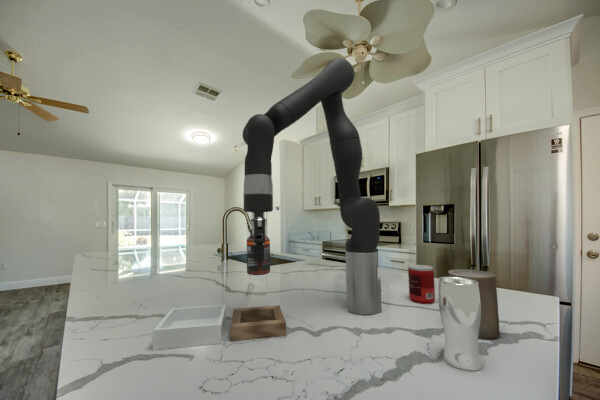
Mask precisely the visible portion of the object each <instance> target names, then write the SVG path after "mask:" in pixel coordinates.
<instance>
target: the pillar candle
mask: <svg viewBox="0 0 600 400" xmlns="http://www.w3.org/2000/svg"><path fill="white" fill-rule="evenodd" d="M448 277H460V278H467V279H472V280H475V281H477V282H478V286H479V292H480V299H481V322H480V329H479V335H478V339H481V340H483V339H484V340H492V339H499V338H500V337H501V333H500V318H499V303H498V291H497V279H496V274H494V273H493V272H490V271H485V270H479V269H478V270H477V269H473V267H470V269H463V268H462V269H457V268H456V269H451V270H448Z"/></svg>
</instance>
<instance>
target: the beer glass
mask: <svg viewBox="0 0 600 400" xmlns="http://www.w3.org/2000/svg"><path fill="white" fill-rule="evenodd" d="M437 290H438V292H437V294H438V295H437V297H438V299H437V301H438V310H439V316H440V319H441V324H442V328H443V333H444V348H443V359H444V362H446V363H447V364H448V365H449V366H450V365H451V366H452V367H454V368H456V369H458V370H459V369H460V370H462V371H463V370H464V371H467V372H469V371H470V372H475V371H479V370H481V369H482V360H481V356H480V352H479V345H478V344H479V338H478V335H479V329H480V322H481V299H480V292H479V286H478V282H477V281H475V280H472V279H467V278H460V277H449V276H441V277H438V288H437Z"/></svg>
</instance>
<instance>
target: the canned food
mask: <svg viewBox="0 0 600 400" xmlns="http://www.w3.org/2000/svg"><path fill="white" fill-rule="evenodd" d="M407 269H408V270H407V271H408V273H407V275H408V290H409V291H408V294H409V296H408V297H409V300H410V301H411V302H412V303H416V304H421V305H432V304H434V303H435V301H436V294H435V291H436V290H435V270H434V267H433V266H431V265H427V264H426V265H425V264H424V265H423V264H410V265H408V267H407Z"/></svg>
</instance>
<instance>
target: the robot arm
mask: <svg viewBox="0 0 600 400" xmlns="http://www.w3.org/2000/svg"><path fill="white" fill-rule="evenodd" d="M354 79H355V69H354V67H353V65H352V64H351V62H349V60H347V59H345V58H341V57H340V58H339V57H338V58H335V59H333V60H331V61H329V63H327V65H326V66H325V67H324V68H323V69H322V70H321V71H320V73H318V74H317V75H315V76H314V77H313V78H311V80H310V81H308V82H307V83H305V84H304V85H302V86H301V87H299V88H298V89H296V90H294V91H293V92H291V93H290V94H288V95H286V96H285V97H283V98H282V99H280V100H279V101H277V102H276V103H274V104H273V105H272V106H271V107H269V109H268V110H267V111H266V112H265V113H263V114H262V113H258V114H255V115H253V116H251V117H250V118H249V119H248V121H247V122H246V124H245V126H244V127H243V130H242V140H243V142H244V143H245V144H246V145H247V152H246V155H245V157H244V176H243V177H244V179H243V212H245V213H252V214H253V218H251V219H250V227H251V229H252V237H254V246H255V261H263V260H264V244H265V236H267V223H268V222H267V218H265V217H264V216H265V215H264V213H271V212H273V210H274V197H273V196H274V195H273V194H274V187H273V177H272V176H273V175H272V165H273V164H272V156H273V150H274V144H275V137H276V136H277V135H279V133H280V132H282V131H284V130H286V129H287V128H288V127H291V126H292V125H293V124H295V123H296V122H297V121H299V120H300V119H301V118H303V117H304V116H305V115H307V114H308V113H309V112H310V111H311V110H312V109H313V108H315V107H316V106H317V105H318V104H319V103H321V106H322V109H323V113H324V117H325V123H326V128H327V133H328V138H329V139H328V140H329V145H330V151H331V155H332V156H331V157H332V160H333V166H334V172H335V177H336V180H337V181H336V182H337V188H338V200H339V213H340V217H341V220H342V222H343V223H344V224H345V225H346V226H347V227H349V228H351V235H350V238H349V239H347V241H346V242H345V278H346V279H345V282H346V283H345V286H346V287H345V288H346V293H345V294H346V310H347V311H348V312H350V313H352V314H356V315H359V316H360V315H361V316H363V315H364V316H369V315H370V316H371V315H375V314H377V313H381V312H382V284H381V283H382V282H381V277H379V275H378V244H379V241H380V230H381V227H380V226H381V225H380V224H381V223H380V222H381V217H380V216H381V214H380V209H379V205H378V204H377V202H376V201H375V200H374V199H372V198H370V197H362V195H361V190H360V182H359V181H360V174H361V167H362V162H363V148H362V144H361V138H360V134H359V131H358V129H357V128H356V126H355V125H354V124H353V122H352V121H351V120H350V118H349V117H348V116H347V114H346V111H345V107H344V103H343V96H342V94H343V93H344V92H345V91H346V90H348V89H349V87H351V86H352V84H353V82H354ZM256 237H262V238H257V239H256Z"/></svg>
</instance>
